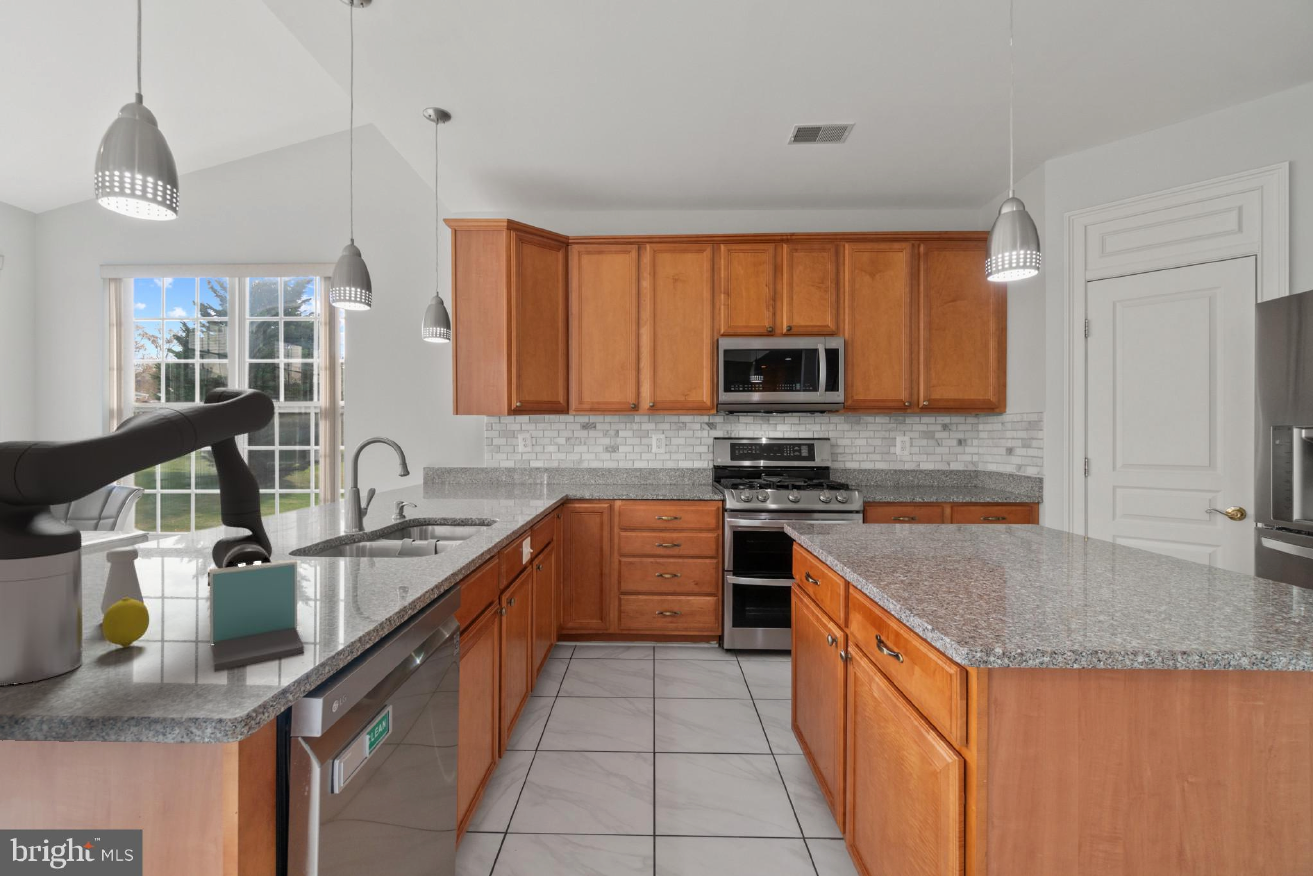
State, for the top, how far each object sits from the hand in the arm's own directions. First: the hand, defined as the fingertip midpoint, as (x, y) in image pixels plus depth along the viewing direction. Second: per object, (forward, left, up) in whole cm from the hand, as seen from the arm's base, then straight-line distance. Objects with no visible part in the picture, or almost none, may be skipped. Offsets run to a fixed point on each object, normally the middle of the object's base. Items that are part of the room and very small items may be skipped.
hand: (253, 583), depth 99 cm
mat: (0, -12, -8) cm, 14 cm away
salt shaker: (-19, +22, -8) cm, 30 cm away
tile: (0, -4, -8) cm, 9 cm away
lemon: (-17, +3, -8) cm, 19 cm away
